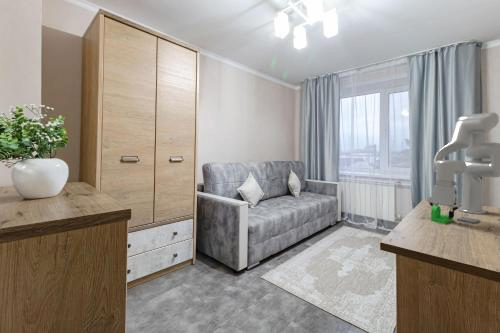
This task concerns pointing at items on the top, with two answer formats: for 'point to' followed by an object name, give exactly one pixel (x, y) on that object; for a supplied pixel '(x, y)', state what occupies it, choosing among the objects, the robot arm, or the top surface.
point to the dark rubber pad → (468, 220)
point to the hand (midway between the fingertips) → (442, 216)
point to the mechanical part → (439, 216)
